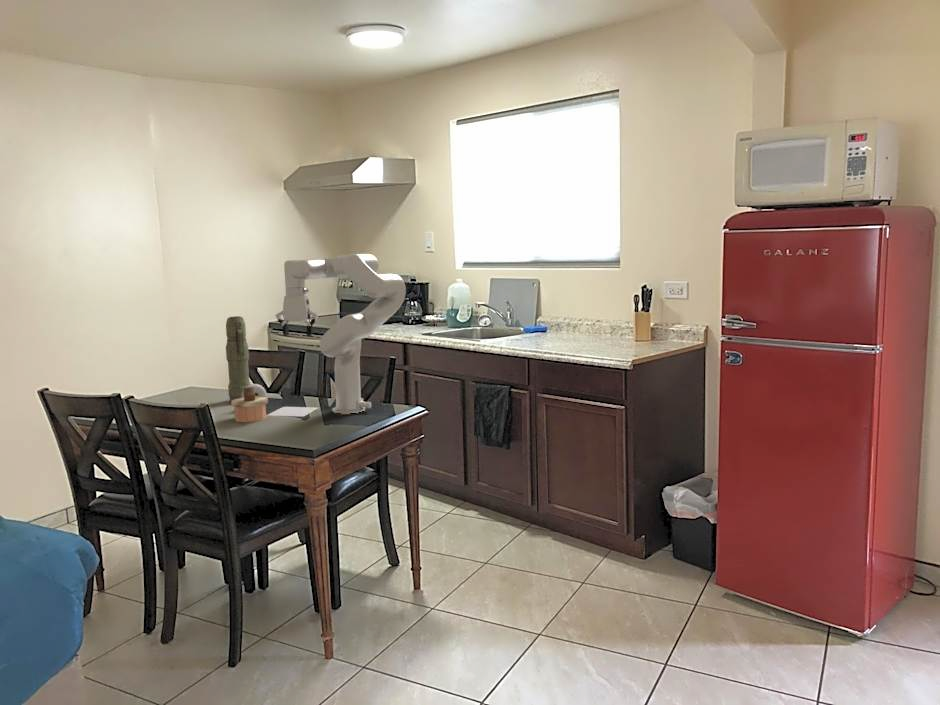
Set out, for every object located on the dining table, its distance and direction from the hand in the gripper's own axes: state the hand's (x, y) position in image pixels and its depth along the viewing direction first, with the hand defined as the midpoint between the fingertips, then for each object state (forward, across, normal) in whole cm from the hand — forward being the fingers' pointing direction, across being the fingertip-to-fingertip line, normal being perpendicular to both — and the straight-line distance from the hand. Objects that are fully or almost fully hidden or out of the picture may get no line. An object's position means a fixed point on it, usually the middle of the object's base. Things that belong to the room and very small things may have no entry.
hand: (297, 335), depth 290 cm
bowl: (+28, +10, +23) cm, 38 cm away
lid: (+22, +10, +23) cm, 33 cm away
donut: (+28, +17, +6) cm, 34 cm away
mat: (+28, -1, +10) cm, 30 cm away
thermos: (+28, +30, -7) cm, 42 cm away
